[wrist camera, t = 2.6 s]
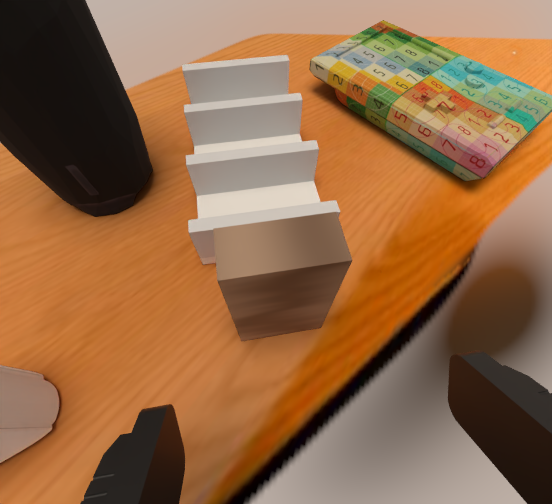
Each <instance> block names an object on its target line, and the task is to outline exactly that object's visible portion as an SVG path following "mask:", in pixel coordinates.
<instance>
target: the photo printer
mask: <svg viewBox="0 0 552 504" xmlns="http://www.w3.org/2000/svg"><path fill="white" fill-rule="evenodd" d="M58 410H59V396H58V392H57V390H56V388H55V387H54V386H53V385H52V384H51V383H50V382H48V381H46V380H44V378H43V375H42V374H39V373H37V372H32V371H28V370H23V369H17V368H12V367H7V366H2V365H0V463H1V462H3V461H5V460H6V459H8V458H10V457H12V456H13V455H15V454H17V453H19V452H20V451H22V450H24V449H25V448H27V447H29V446H30V445H32V444H33V443H35V442H36V441H38V440H40V439H41V438H42V437H44V436H45V435H46V434H47V433H49V432H50V431H51V430H52V424H53V423H54V422H55V420H56V417H57V414H58Z"/></svg>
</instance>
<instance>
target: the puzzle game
mask: <svg viewBox="0 0 552 504" xmlns="http://www.w3.org/2000/svg"><path fill="white" fill-rule="evenodd" d="M310 71H311V72H312V74H313V75H314V76H315V77H316V78H318V79H320V80H321V81H323V82H325V83H326V84H328V85H330V86H331V87H333V88H335V93H336V98H337V99H338V100H339V101H340V102H341V103H342V104H343V105H345V106H346V107H348V108H349V109H351V110H353V111H354V112H356V113H357V114H359V115H360V116H362V117H364V118H365V119H367V120H368V121H370V122H372V123H373V124H375V125H376V126H378V127H380V128H381V129H383V130H384V131H386V132H388V133H389V134H391V135H392V136H394V137H396V138H397V139H399V140H400V141H402V142H403V143H405V144H407V145H408V146H410V147H411V148H413V149H415V150H416V151H418V152H419V153H421V154H423V155H424V156H426V157H427V158H429V159H431V160H432V161H434V162H435V163H437V164H438V165H440V166H442V167H443V168H445V169H446V170H448V171H450V172H451V173H453V174H454V175H456V176H458V177H459V178H461V179H462V180H464V181H470V180H475V179H482V178H485V177H486V176H487V175H488V174H489V173H490V172H491V171H492V170H493V169H494V168H495V167H496V166H497V165H498V164H499V163H500V162H502V161H503V160H504V159H505V158H506V157H507V156H508V155H509V154H510V153H511V152H512V151H513V150H514V149H515V148H516V147H517V146H518V145H519V144H520V143H521V142H522V141H523V140H524V139H525V138H526V137H527V136H528V135H529V134H530V133H531V132H532V131H533V130H534V129H535V128H536V127H537V126H538V125H539V124H540V123H541V122H542V121H543V120H544V119H545V118H546V117H547V116H548V115H549V114H550V113H551V112H552V95H549V94H547V93H545V92H543V91H540V90H538V89H536V88H534V87H532V86H529V85H527V84H525V83H523V82H520V81H518V80H516V79H514V78H511V77H509V76H507V75H505V74H502V73H500V72H498V71H496V70H494V69H491V68H489V67H487V66H485V65H482V64H481V63H479V62H476V61H473V60H471V59H469V58H467V57H464V56H462V55H460V54H458V53H456V52H453V51H451V50H449V49H447V48H444V47H442V46H440V45H438V44H435V43H433V42H431V41H429V40H426V39H424V38H422V37H420V36H417V35H415V34H413V33H411V32H409V31H406V30H404V29H402V28H400V27H397V26H395V25H393V24H390V23H388V22H386V21H384V20H383V21H381V22H379V23H377V24H375V25H374V26H372V27H370V28H368V29H366V30H364V31H362V32H361V33H359V34H357V35H355V36H353V37H351V38H349V39H348V40H346V41H344V42H342V43H340V44H338V45H336V46H335V47H333V48H331V49H329V50H327V51H325V52H323V53H322V54H320V55H318V56H316V57H314V58H312V59H311V61H310Z"/></svg>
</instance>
